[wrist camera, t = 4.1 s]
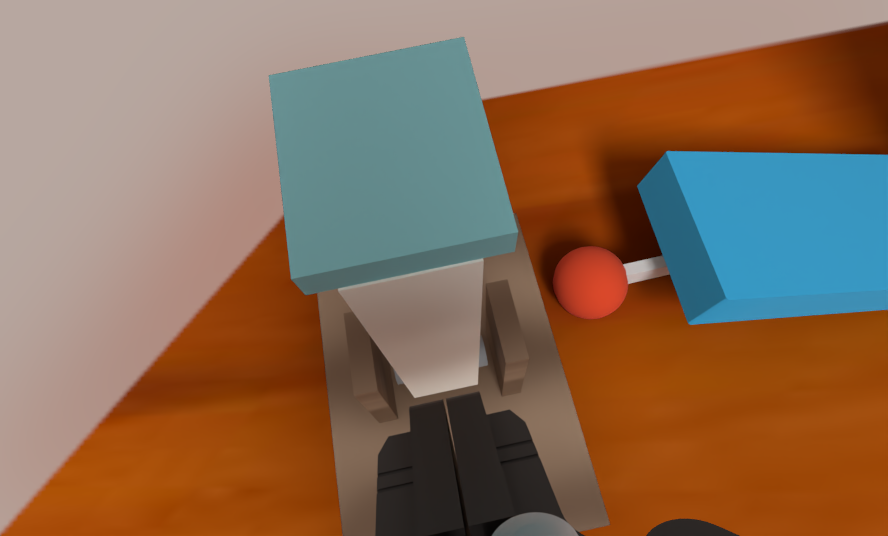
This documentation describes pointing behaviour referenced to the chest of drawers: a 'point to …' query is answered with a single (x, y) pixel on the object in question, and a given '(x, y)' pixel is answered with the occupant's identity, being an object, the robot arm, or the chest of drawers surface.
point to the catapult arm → (396, 202)
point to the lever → (750, 238)
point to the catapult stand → (500, 385)
